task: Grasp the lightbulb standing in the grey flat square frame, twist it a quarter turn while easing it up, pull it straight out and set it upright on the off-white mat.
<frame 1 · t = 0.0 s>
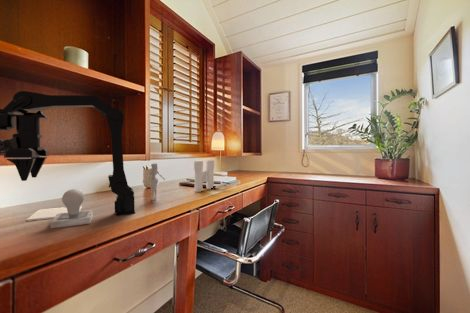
hand: (29, 178, 73), 15 cm above the table, fingers open, 9 cm apart
binoculars: (204, 190, 138), on the table
lightbulb: (73, 221, 76), resting in grey flat square frame
grey flat square frame: (73, 221, 76), on the table
human figurine: (154, 200, 108), on the table
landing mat: (57, 213, 85), on the table
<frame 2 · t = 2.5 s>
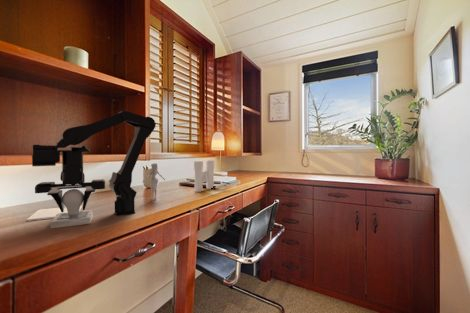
hand: (73, 210, 76), 4 cm above the table, fingers closed on lightbulb, 5 cm apart
lightbulb: (73, 221, 76), resting in grey flat square frame, touching gripper
everything else where it was.
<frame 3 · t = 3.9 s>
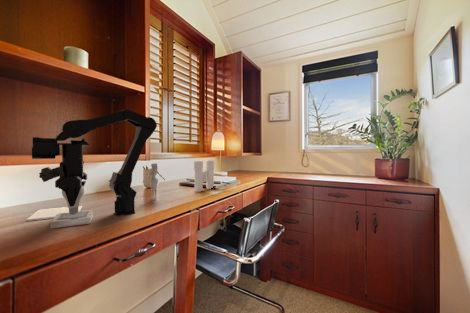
hand: (73, 204, 76), 6 cm above the table, fingers closed on lightbulb, 5 cm apart
lightbulb: (73, 215, 76), point 2 cm above the table, touching gripper
everything else where it was.
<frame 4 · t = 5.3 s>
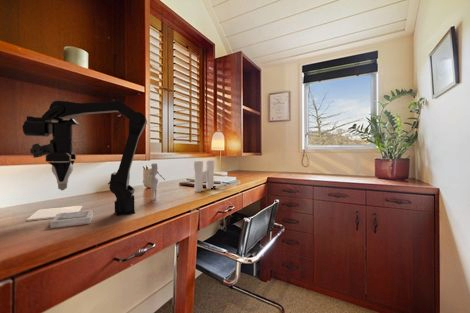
hand: (62, 180, 80), 13 cm above the table, fingers closed on lightbulb, 5 cm apart
lightbulb: (62, 190, 80), point 9 cm above the table, touching gripper
everything else where it was.
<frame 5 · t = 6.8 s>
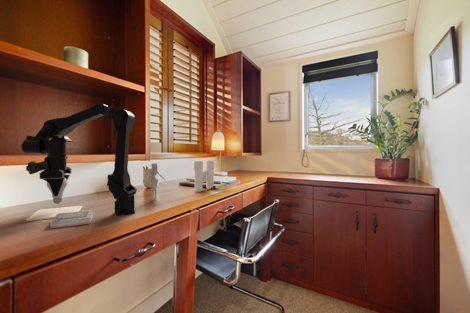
hand: (57, 194, 85), 7 cm above the table, fingers closed on lightbulb, 5 cm apart
lightbulb: (57, 204, 85), point 3 cm above the table, touching gripper
everything else where it was.
when the fingers open (5 cm above the table, at t = 8.0 s): lightbulb drops 1 cm, resting on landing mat.
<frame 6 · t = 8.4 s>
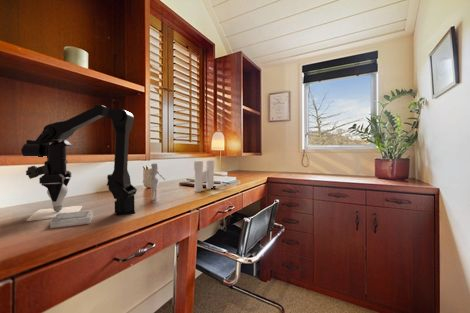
hand: (57, 199, 85), 5 cm above the table, fingers open, 9 cm apart
lightbulb: (57, 212, 85), resting on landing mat
everything else where it was.
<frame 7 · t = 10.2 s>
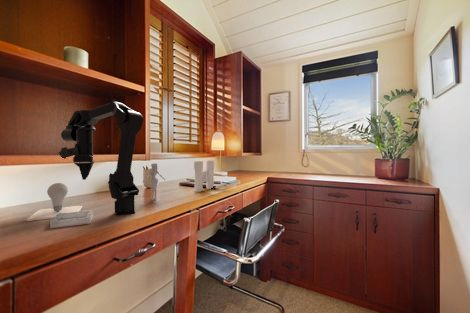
hand: (85, 178, 94), 12 cm above the table, fingers open, 9 cm apart
nothing on the table moved.
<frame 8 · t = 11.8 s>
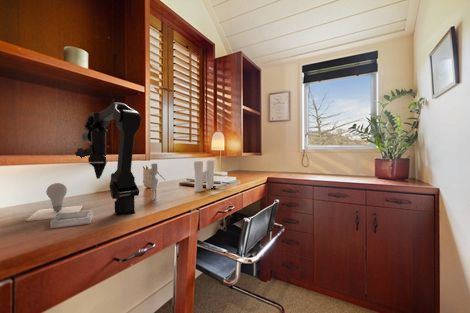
hand: (99, 177, 99), 12 cm above the table, fingers open, 9 cm apart
nothing on the table moved.
at the end: lightbulb inside the target area on the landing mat (0.0 cm from its centre), point 0.4 cm above the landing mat's base; lightbulb tilted 1°; the gripper is holding nothing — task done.
